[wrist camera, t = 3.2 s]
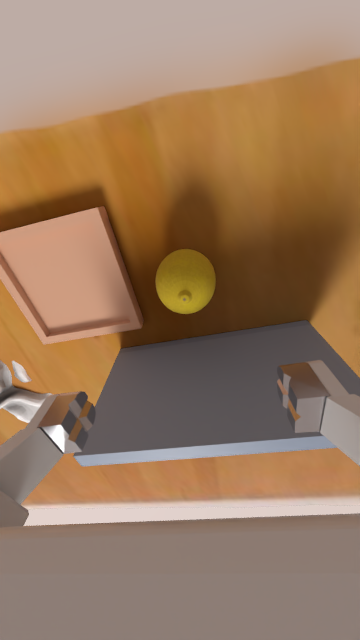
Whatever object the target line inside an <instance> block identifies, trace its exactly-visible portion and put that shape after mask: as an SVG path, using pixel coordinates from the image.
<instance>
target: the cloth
mask: <svg viewBox="0 0 360 640" xmlns="http://www.w3.org/2000/svg"><path fill="white" fill-rule="evenodd" d="M12 363H13V370H14V372H15V375H14V376H16V377H17V378H18V379H19V380H20V381H21V382H29V381H32V380H31V378H30V377H29V376H28V375H27V373H26V371H25V369H24V368H23V366H21V365H19V364H18V363H16V362H14V361H12ZM50 395H53V394H51V393H46V394H38V393H34V392H30V391H27V390H24V389H17V388H15V387H14V386H12V376H11V372H10V371H9V369H8V368H7V366H6V365H5V364H4V363H3V362H2V361H0V409H1V408H3V409H5V410H7V411H8V412H10V413H12V414H13V415H15V416H16V417H17V418H18V419H19V420H22V421H24V422H27V423H29V422H30V421H31V419H32V418H33V416H34V415H35V413H36V412H37V411H38V409H39V408H40V406H41V405H42V403H43V402H44V401H45V399H46V398H47V397H48V396H50Z"/></svg>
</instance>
